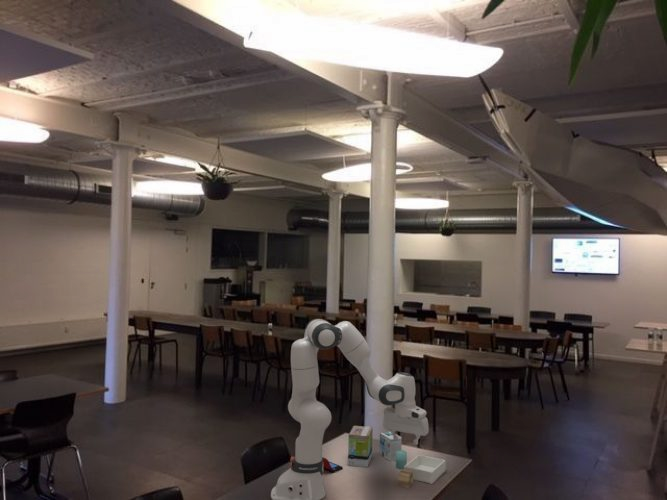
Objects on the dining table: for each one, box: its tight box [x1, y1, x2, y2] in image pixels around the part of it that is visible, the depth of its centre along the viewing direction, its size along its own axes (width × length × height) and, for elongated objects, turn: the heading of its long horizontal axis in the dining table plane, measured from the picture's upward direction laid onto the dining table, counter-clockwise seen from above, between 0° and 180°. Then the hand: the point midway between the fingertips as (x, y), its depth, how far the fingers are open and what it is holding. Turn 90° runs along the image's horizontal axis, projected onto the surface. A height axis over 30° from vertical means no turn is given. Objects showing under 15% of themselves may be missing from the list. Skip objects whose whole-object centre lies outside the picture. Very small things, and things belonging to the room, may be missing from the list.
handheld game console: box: [322, 456, 344, 474], centre depth 241 cm, size 12×11×7 cm
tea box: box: [347, 425, 374, 468], centre depth 251 cm, size 15×10×15 cm
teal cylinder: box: [395, 449, 408, 470], centre depth 243 cm, size 5×5×7 cm
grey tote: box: [403, 454, 447, 485], centre depth 235 cm, size 17×13×5 cm
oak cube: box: [397, 469, 414, 488], centre depth 224 cm, size 5×5×5 cm
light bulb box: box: [379, 430, 403, 462], centre depth 256 cm, size 11×7×11 cm, turn 25°
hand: (405, 442), depth 225 cm, fingers open, 8 cm apart
